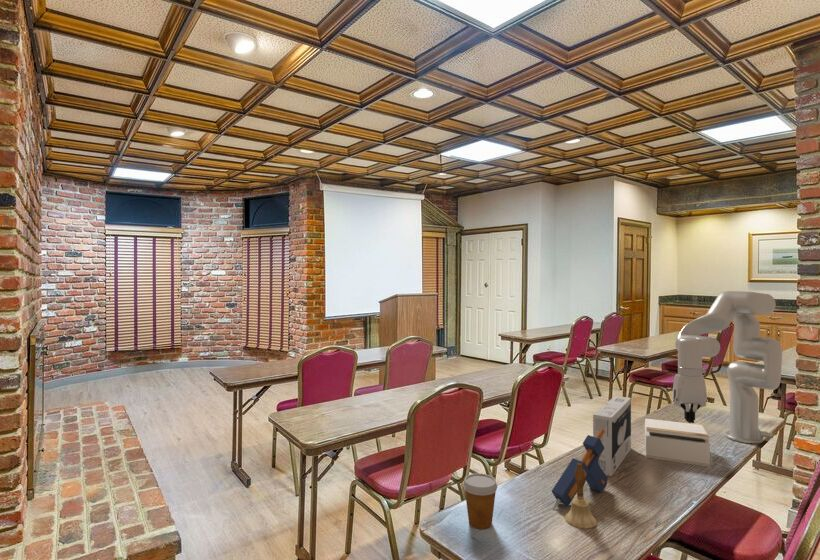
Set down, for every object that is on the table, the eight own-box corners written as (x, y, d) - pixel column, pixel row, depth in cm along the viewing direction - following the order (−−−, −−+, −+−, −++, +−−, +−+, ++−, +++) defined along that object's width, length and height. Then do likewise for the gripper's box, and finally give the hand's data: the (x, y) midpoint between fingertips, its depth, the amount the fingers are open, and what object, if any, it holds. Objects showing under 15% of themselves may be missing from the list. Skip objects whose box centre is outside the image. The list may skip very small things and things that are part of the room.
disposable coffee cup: (504, 522, 127) (504, 479, 127) (485, 537, 120) (485, 491, 120) (475, 510, 133) (475, 469, 133) (456, 524, 126) (455, 480, 126)
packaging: (611, 476, 155) (611, 417, 154) (592, 471, 158) (592, 414, 158) (631, 448, 179) (631, 397, 179) (614, 445, 183) (614, 395, 182)
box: (702, 449, 178) (702, 428, 178) (709, 466, 162) (709, 444, 161) (644, 441, 186) (644, 421, 186) (646, 457, 170) (646, 436, 170)
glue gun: (564, 533, 139) (544, 502, 134) (603, 453, 155) (587, 422, 150) (582, 541, 134) (563, 509, 129) (621, 457, 150) (605, 426, 145)
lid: (701, 427, 178) (701, 424, 178) (709, 439, 161) (709, 436, 161) (645, 420, 186) (645, 417, 186) (646, 431, 170) (646, 428, 170)
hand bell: (576, 530, 122) (576, 471, 122) (559, 514, 131) (558, 459, 130) (603, 526, 124) (603, 468, 124) (584, 511, 132) (584, 456, 132)
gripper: (706, 370, 170) (706, 419, 170) (663, 369, 172) (663, 417, 172) (717, 374, 162) (717, 426, 163) (672, 373, 165) (672, 424, 165)
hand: (689, 421), depth 167 cm, fingers closed
